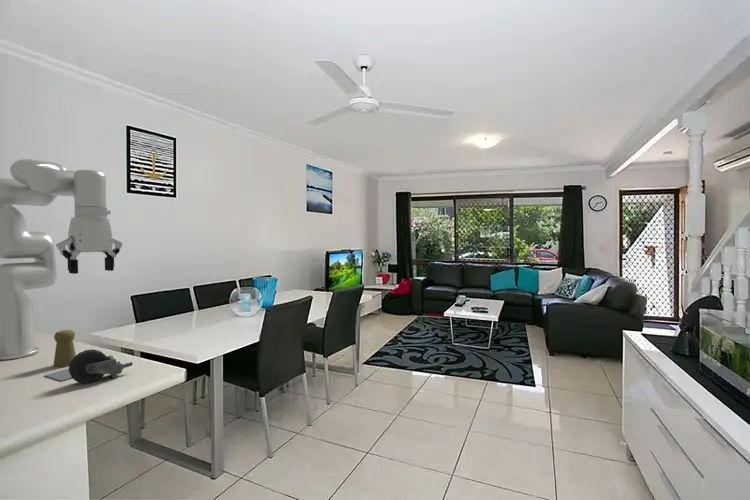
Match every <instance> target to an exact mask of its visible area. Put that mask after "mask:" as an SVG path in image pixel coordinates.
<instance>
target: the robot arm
mask: <svg viewBox="0 0 750 500" xmlns="http://www.w3.org/2000/svg"><path fill="white" fill-rule="evenodd" d="M9 172H10V176H11V177H12V178H5V177H4V178H0V259H4V260H17V259H18V260H19V259H20V260H21V259H22V260H23V259H33V260H34V261H31V262H30V261H29V262H28V261H25V262H22V261H21V262H8V263H7V262H6V263H2V264H0V361H3V360H5V361H7V360H13V359H21V358H25V357H29V356H32V355H36V354H38V353H39V352H40V347H39V346H38V345H34V315H33V314H34V313H33V311H34V310H33V309H34V308H33V302H32V299H31V298H30V297H29V296H28V295H27V294H26V293H24V291H26V290H27V291H28V290H35V289H43V288H44V289H45V288H49V287H52V286H53V285H54V284H55V283H56V281H57V275H58V274H57V262H56V261H57V260H56V250H55V247H56V248H57V250H58V251H59V253H60V254H61V255H62V256H63V257H64V258H65V260H67V270H68V273H69V274H73V275H77V274H79V261H78V259H77V257H78V256H79V255H80V254H81V253H103V254H104V255H105V257H104V271H109V272H113V271H114V268H115V258H116V257H117V255H118V254H119V253H120V252H121V249H122V247H123V242H122V241H120V240H117V239H115V238H113V233H112V226H111V223H110V219H109V218H107V217H108V215H111V210H108V208H107V177H106V175H105V173H104V172H102V171H99V170H94V169H93V170H91V169H78V170H69V169H67V168H66V167H65V166H64V165H62V164H60V163H56V162H52V161H51V162H50V161H44V160H39V159H38V160H37V159H31V158H30V159H29V158H24V159H23V158H22V159H19V160H16V161H14V162H13V163H12V164H11V166H10V168H9ZM58 196H63V197H64V196H65V197H73V199H74V201H73V202H74V217H71V218H70V221H69V227H68V232H67V238H66V239H64V240H62V241H59V242H58V243H56V244H55V243H54V240H53V238H52V237H51V235H49V233H46V232H44V231H28V230H27V229H26V219H25V217H24V215H23V214H22V213H21V211H20V210H19V209H17V208H16V207H15V206H14V205H18V206H34V207H35V206H36V207H45V206H48V205H51V204H52V203H53V202H54V201H55V199H56V198H57V197H58ZM113 245H114V247H113ZM66 247H67V248H66Z"/></svg>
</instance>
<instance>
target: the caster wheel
mask: <svg viewBox="0 0 750 500" xmlns="http://www.w3.org/2000/svg"><path fill="white" fill-rule="evenodd" d="M132 366H133V362H132V361H131V362H125V363H121V362H120V361H117V359H116V358H114V357H113V355H106V354H104V353H103V351H101V350H97V349H85V350H82V351H81V352H79V353H77V354H76V356H75V357H74V358H73V359H72V361H71V362H70V364H69V366H68V369H69V373H70V375H71V377H72V379H73V380H74V381H75V382H76V383H78V384H79V383H80V384H91V383H94V382H96V381H99V380H101V378H103V377H104V376H105V375H110V376H111V377H112V379H117V378H118V375H120V374H122V373H123V370H124V369H125V368H128V367H132Z"/></svg>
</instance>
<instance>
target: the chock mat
mask: <svg viewBox="0 0 750 500" xmlns="http://www.w3.org/2000/svg"><path fill="white" fill-rule="evenodd" d="M43 377H45V378H49V379H52V380H56V381H59V382H64V381H67V380H72V379H73V378H72V377H71V375H70V373H69V368H66V369H62V370H59V371H55V372H52V373H47V374H44V375H43Z"/></svg>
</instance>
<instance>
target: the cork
mask: <svg viewBox="0 0 750 500" xmlns="http://www.w3.org/2000/svg"><path fill="white" fill-rule="evenodd" d="M75 336H76V334H75V331H74V330H72V329H63V330H58V331H57V332H56V333H54V335H53V338H54V341H55V342H56V343H55V344H56V345H55V351H54V359H53V366H52V367H53V368H57V369H58V368H59V369H61V368H69V364H70V362H71V361H72V359H73V358H74V357H75V356H76V355H77V354H76V349H75V344H74V339H75Z"/></svg>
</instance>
